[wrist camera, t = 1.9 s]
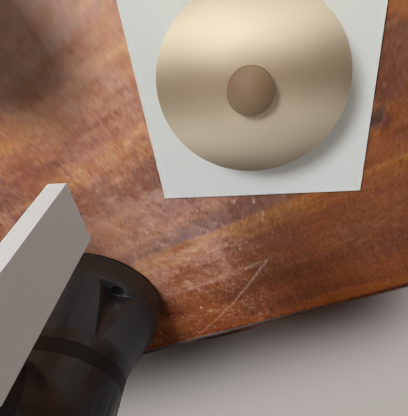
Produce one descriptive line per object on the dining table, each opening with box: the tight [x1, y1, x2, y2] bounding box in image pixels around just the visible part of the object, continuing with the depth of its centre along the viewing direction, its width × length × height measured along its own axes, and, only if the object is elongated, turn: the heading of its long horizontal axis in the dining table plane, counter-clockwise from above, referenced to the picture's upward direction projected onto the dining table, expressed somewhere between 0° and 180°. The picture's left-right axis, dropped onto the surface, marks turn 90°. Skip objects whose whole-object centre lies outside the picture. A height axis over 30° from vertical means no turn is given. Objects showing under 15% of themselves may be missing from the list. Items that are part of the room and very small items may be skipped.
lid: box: [156, 0, 353, 171], centre depth 23 cm, size 12×12×4 cm
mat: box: [116, 0, 388, 199], centre depth 25 cm, size 20×16×1 cm
